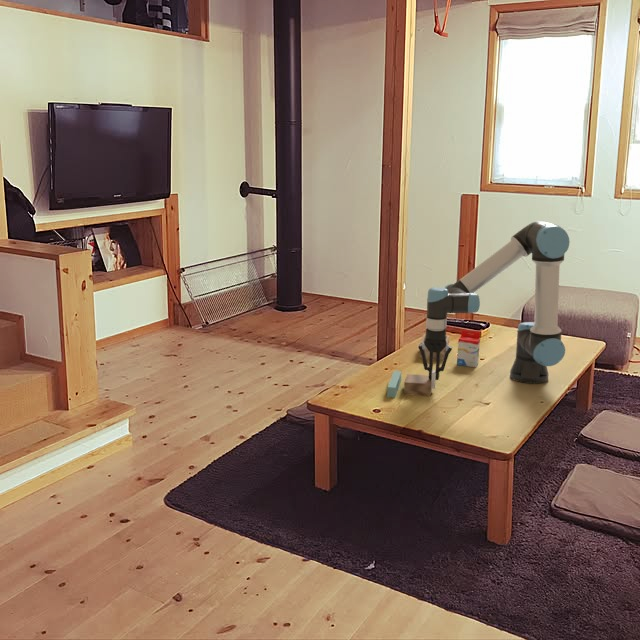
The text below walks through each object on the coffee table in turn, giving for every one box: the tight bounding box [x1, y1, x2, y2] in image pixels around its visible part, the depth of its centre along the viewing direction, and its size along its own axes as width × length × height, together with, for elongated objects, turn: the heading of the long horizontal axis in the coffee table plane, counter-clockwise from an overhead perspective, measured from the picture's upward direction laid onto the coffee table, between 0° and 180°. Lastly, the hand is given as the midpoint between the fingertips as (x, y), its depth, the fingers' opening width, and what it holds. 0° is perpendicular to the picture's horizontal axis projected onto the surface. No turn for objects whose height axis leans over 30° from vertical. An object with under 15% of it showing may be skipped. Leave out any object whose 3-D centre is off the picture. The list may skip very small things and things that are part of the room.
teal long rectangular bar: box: [386, 370, 402, 399], centre depth 305 cm, size 3×20×4 cm, turn 168°
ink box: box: [456, 329, 481, 368], centre depth 335 cm, size 8×5×15 cm, turn 68°
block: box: [403, 373, 432, 397], centre depth 303 cm, size 10×10×5 cm
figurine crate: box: [419, 333, 450, 361], centre depth 350 cm, size 12×16×7 cm
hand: (433, 387), depth 302 cm, fingers closed
